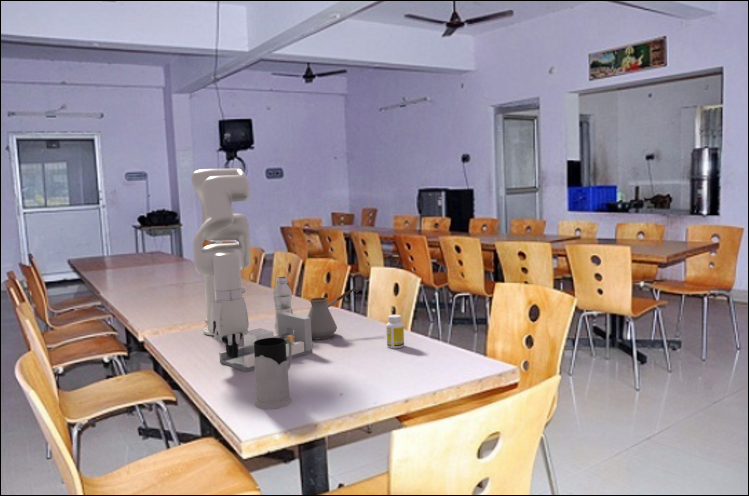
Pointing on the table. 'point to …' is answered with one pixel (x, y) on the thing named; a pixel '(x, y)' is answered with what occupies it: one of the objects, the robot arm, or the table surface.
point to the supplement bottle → (395, 332)
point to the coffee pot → (323, 317)
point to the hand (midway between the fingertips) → (232, 356)
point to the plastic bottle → (282, 298)
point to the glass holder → (272, 373)
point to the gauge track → (285, 325)
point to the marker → (290, 338)
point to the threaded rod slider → (258, 338)
